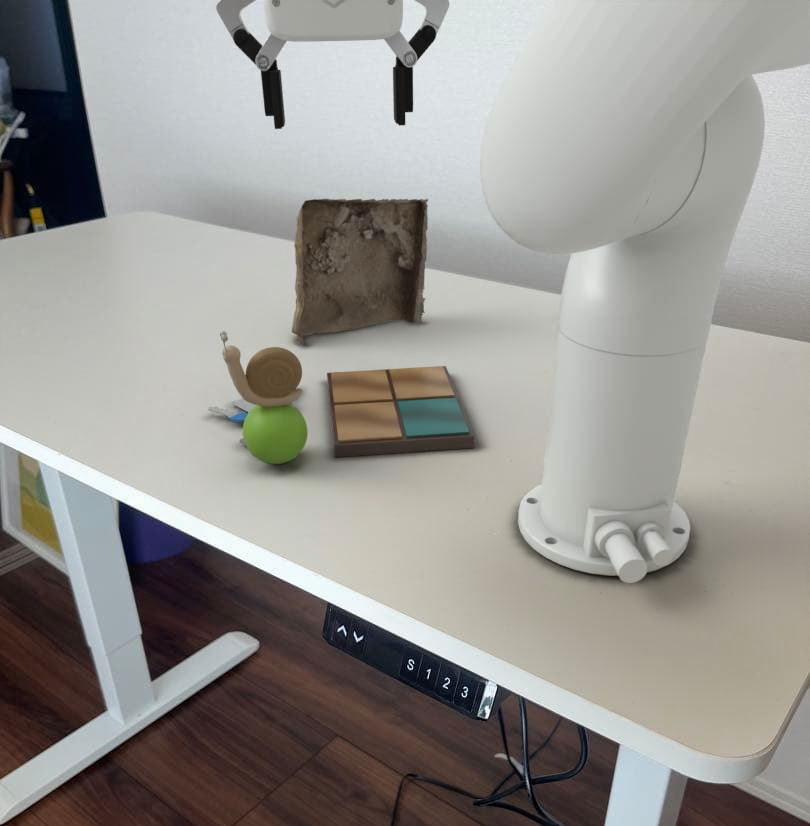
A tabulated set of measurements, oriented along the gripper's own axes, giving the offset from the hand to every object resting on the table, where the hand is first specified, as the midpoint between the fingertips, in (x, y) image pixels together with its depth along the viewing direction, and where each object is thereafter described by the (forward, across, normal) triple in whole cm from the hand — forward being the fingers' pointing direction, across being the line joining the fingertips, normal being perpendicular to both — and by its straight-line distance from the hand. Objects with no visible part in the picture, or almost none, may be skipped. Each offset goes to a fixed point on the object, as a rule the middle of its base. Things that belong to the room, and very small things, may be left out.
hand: (340, 124), depth 66 cm
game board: (+25, +4, -2) cm, 25 cm away
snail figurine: (+25, -8, -10) cm, 28 cm away
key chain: (+25, -10, -2) cm, 27 cm away
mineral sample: (+25, +1, +21) cm, 33 cm away
